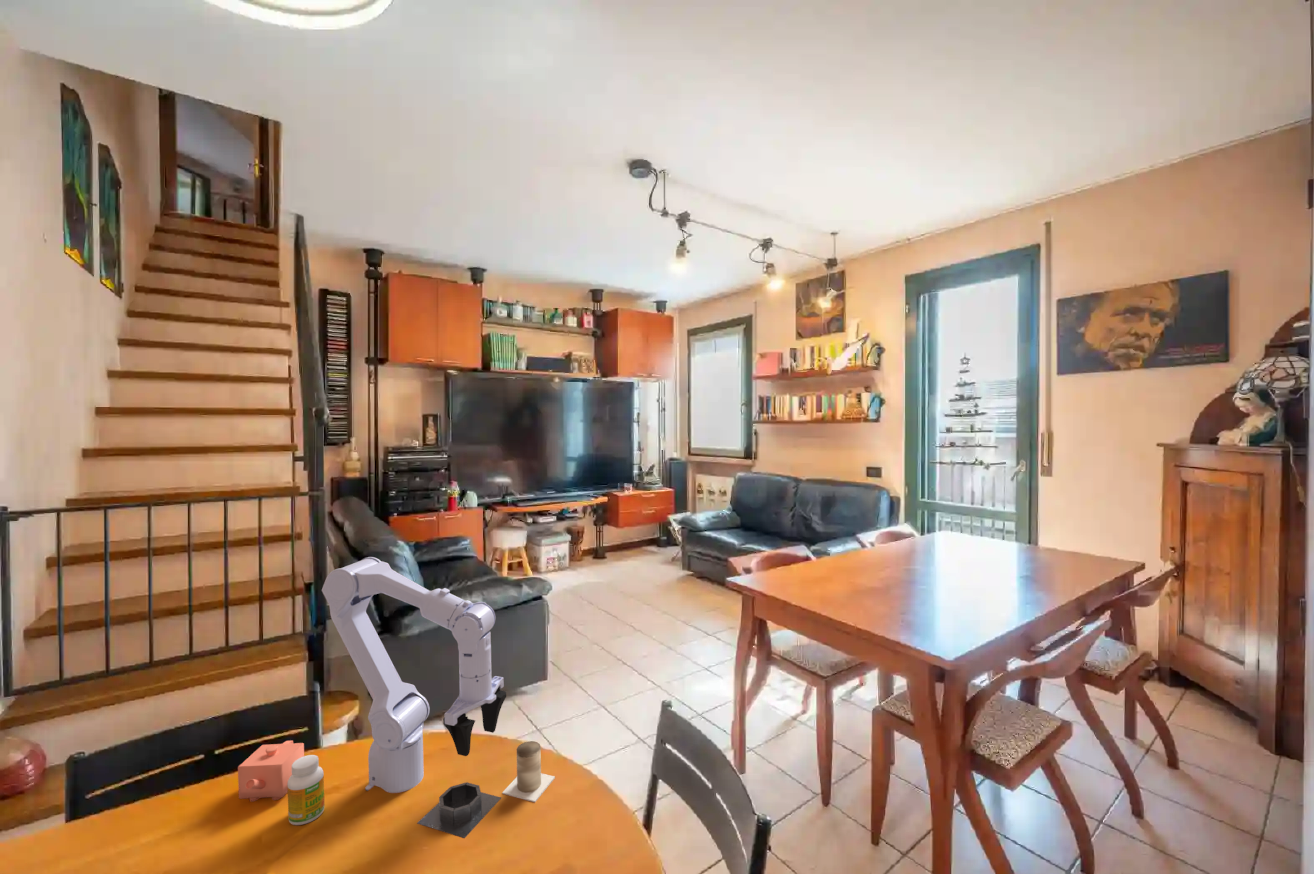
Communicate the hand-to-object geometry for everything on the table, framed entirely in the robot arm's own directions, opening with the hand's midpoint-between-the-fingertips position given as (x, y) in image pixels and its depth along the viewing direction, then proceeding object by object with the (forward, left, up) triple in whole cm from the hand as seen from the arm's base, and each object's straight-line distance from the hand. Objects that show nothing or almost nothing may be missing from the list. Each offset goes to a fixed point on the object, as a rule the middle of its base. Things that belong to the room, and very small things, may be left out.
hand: (476, 742), depth 101 cm
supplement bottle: (-25, -15, -10) cm, 31 cm away
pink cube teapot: (-37, -13, -10) cm, 40 cm away
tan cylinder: (+9, +4, -8) cm, 13 cm away
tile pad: (+9, +4, -9) cm, 13 cm away
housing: (+1, -6, -9) cm, 11 cm away
